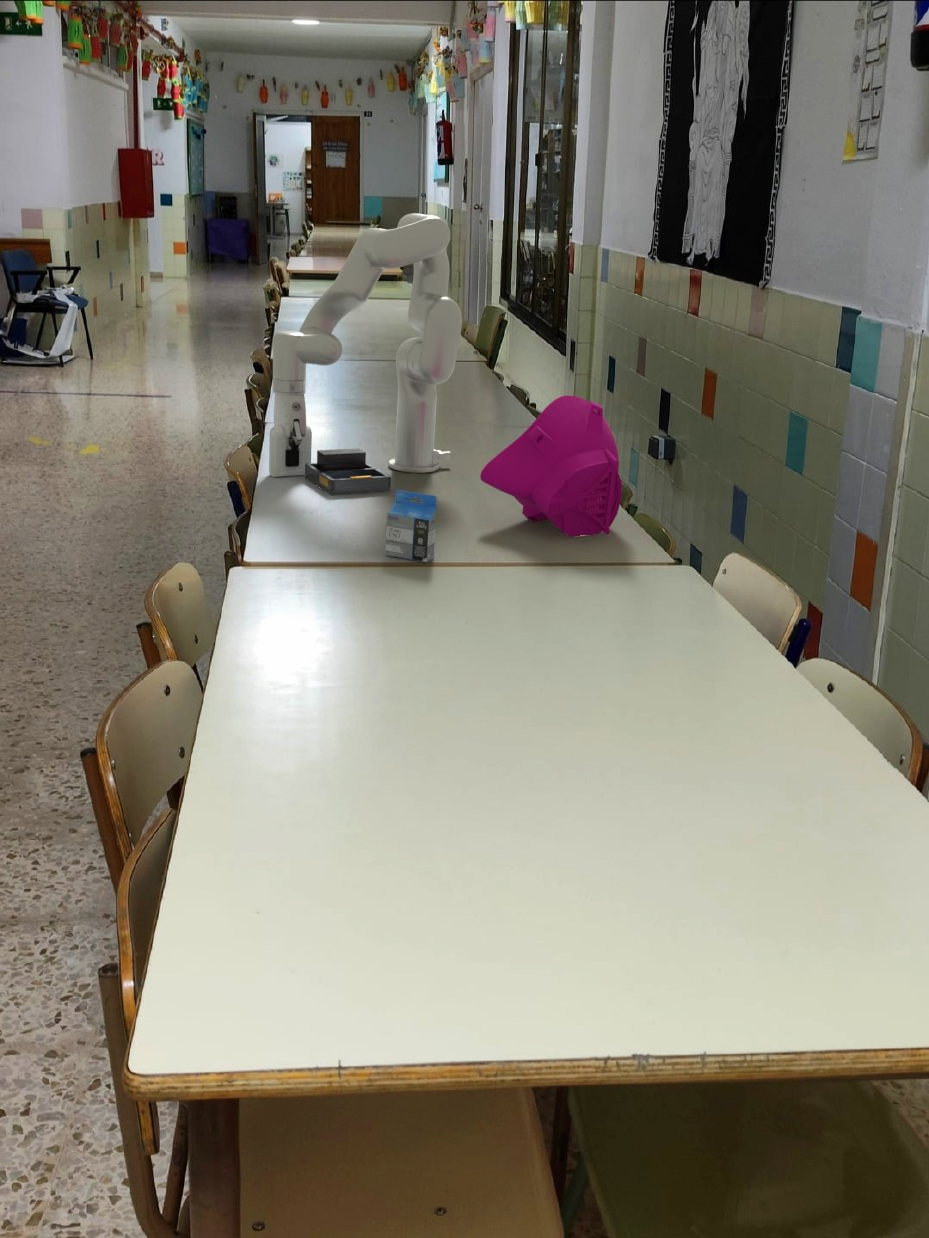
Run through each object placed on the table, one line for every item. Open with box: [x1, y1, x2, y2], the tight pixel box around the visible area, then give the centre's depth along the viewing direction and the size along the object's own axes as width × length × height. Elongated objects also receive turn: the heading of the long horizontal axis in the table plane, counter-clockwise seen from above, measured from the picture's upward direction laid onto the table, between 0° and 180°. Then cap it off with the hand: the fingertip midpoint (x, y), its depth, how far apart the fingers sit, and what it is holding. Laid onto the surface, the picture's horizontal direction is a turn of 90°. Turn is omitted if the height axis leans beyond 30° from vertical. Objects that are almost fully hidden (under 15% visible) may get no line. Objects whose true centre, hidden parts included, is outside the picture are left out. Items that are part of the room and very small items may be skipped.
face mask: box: [479, 394, 623, 538], centre depth 252 cm, size 28×23×30 cm
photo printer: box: [268, 424, 313, 478], centre depth 284 cm, size 10×4×12 cm, turn 123°
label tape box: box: [384, 489, 438, 563], centre depth 228 cm, size 9×4×12 cm, turn 69°
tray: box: [304, 447, 392, 496], centre depth 279 cm, size 15×16×7 cm
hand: (288, 463), depth 284 cm, fingers closed on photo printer, 4 cm apart
